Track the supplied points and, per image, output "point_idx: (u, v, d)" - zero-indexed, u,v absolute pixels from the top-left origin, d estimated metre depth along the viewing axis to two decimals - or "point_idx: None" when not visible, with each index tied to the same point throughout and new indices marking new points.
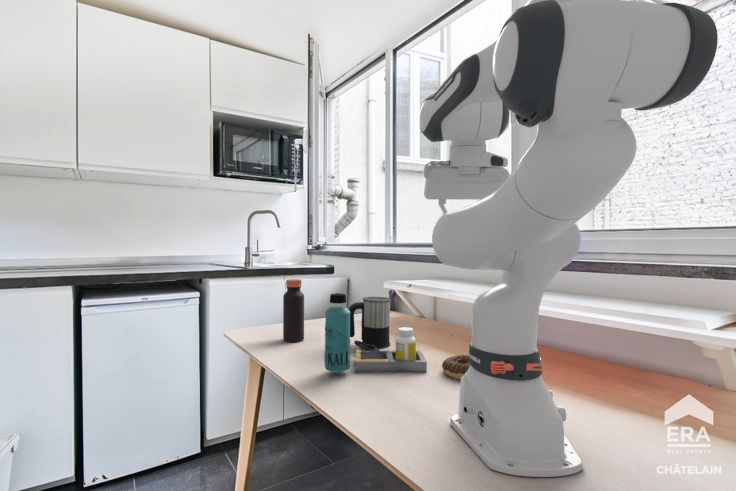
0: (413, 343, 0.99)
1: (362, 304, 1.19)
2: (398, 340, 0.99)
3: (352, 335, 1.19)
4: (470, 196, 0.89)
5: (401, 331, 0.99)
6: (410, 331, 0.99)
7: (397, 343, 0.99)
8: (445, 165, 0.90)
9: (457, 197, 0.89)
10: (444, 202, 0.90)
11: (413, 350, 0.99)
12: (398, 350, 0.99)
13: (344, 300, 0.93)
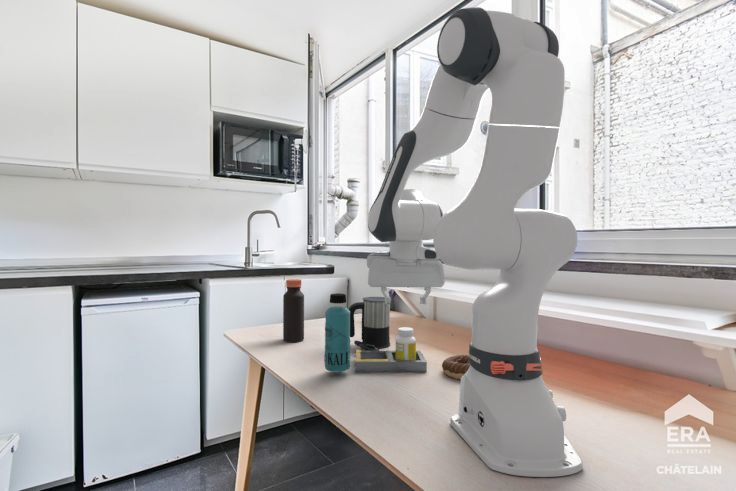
0: (413, 343, 0.99)
1: (362, 304, 1.19)
2: (398, 340, 0.99)
3: (352, 335, 1.19)
4: (408, 284, 0.99)
5: (401, 331, 0.99)
6: (410, 331, 0.99)
7: (397, 343, 0.99)
8: (385, 256, 1.00)
9: (396, 285, 0.99)
10: (385, 289, 1.00)
11: (413, 350, 0.99)
12: (398, 350, 0.99)
13: (344, 300, 0.93)
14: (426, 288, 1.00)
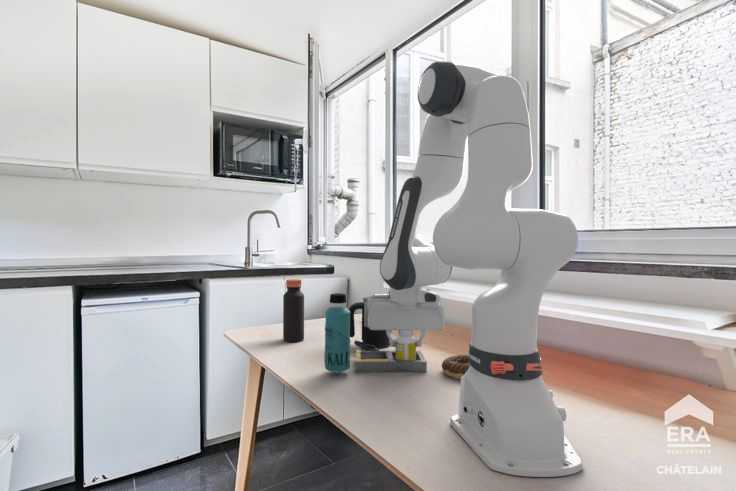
0: (413, 343, 0.99)
1: (362, 304, 1.19)
2: (398, 340, 0.99)
3: (352, 335, 1.19)
4: (408, 327, 0.99)
5: (401, 331, 0.99)
6: (410, 331, 0.99)
7: (397, 343, 0.99)
8: (385, 299, 1.00)
9: (396, 328, 0.99)
10: (390, 332, 0.99)
11: (413, 350, 0.99)
12: (398, 350, 0.99)
13: (344, 300, 0.93)
14: (421, 331, 1.00)
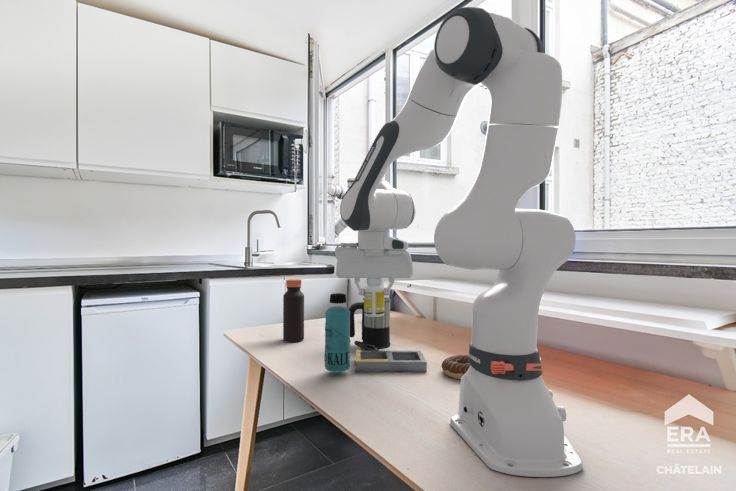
0: (381, 292, 0.98)
1: (362, 304, 1.19)
2: (366, 289, 0.99)
3: (352, 335, 1.19)
4: (376, 275, 0.98)
5: (369, 280, 0.99)
6: (378, 280, 0.99)
7: (365, 292, 0.99)
8: (354, 247, 1.00)
9: (364, 276, 0.98)
10: (358, 280, 0.99)
11: (381, 299, 0.98)
12: (366, 299, 0.99)
13: (344, 300, 0.93)
14: (389, 279, 0.99)
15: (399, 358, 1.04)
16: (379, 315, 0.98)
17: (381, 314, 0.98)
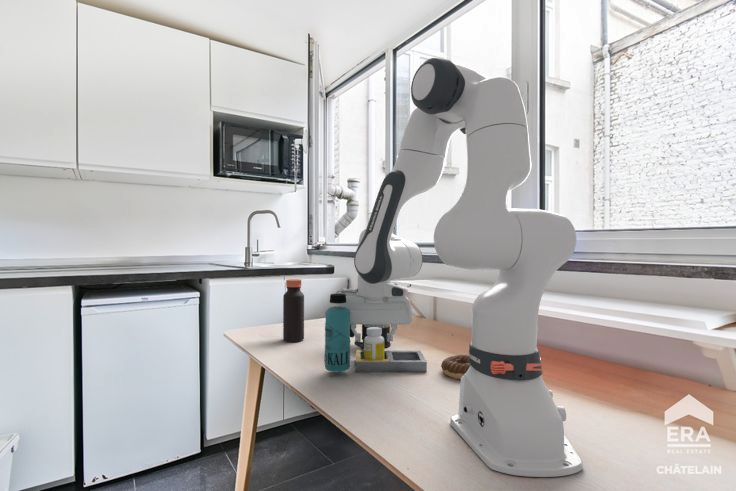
0: (381, 343, 0.99)
1: None
2: (366, 340, 0.99)
3: (352, 335, 1.19)
4: (375, 322, 0.99)
5: (369, 331, 0.99)
6: (378, 331, 0.99)
7: (365, 343, 0.99)
8: (353, 293, 1.00)
9: (364, 323, 0.99)
10: (354, 326, 0.99)
11: (381, 350, 0.99)
12: (366, 350, 0.99)
13: (344, 300, 0.93)
14: (392, 325, 0.99)
15: (399, 358, 1.04)
16: None
17: None
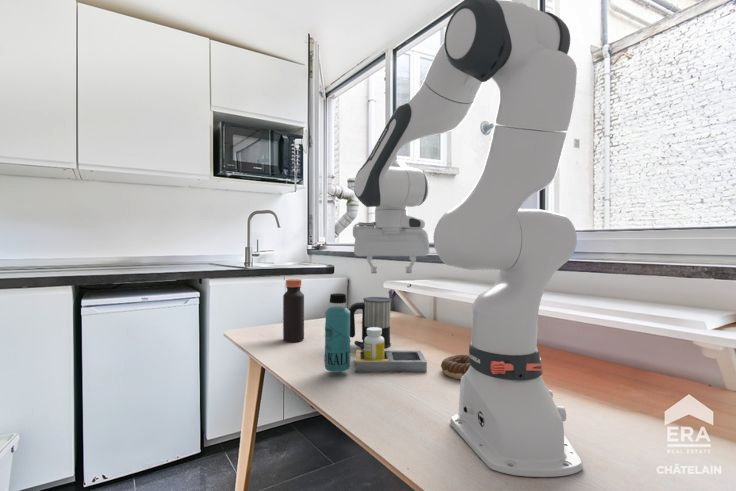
0: (381, 343, 0.99)
1: (362, 304, 1.19)
2: (366, 340, 0.99)
3: (352, 335, 1.19)
4: (393, 253, 1.00)
5: (369, 331, 0.99)
6: (378, 331, 0.99)
7: (365, 343, 0.99)
8: (371, 226, 1.02)
9: (382, 254, 1.00)
10: (371, 258, 1.01)
11: (381, 350, 0.99)
12: (366, 350, 0.99)
13: (344, 300, 0.93)
14: (411, 257, 1.01)
15: (399, 358, 1.04)
16: None
17: None
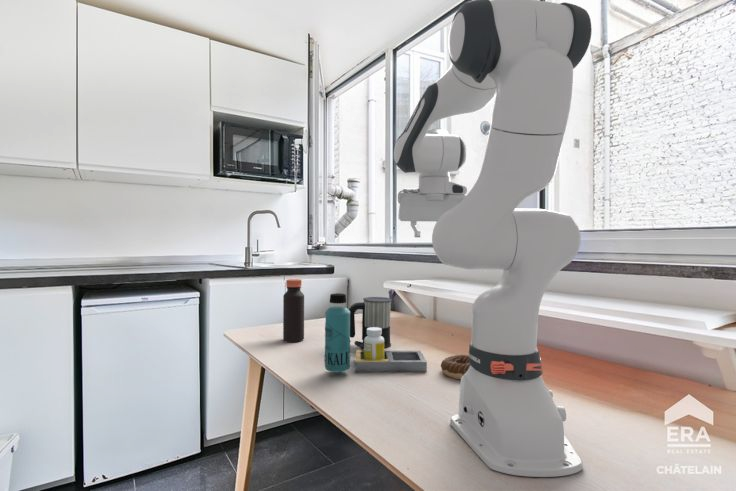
0: (381, 343, 0.99)
1: (363, 304, 1.19)
2: (366, 340, 0.99)
3: (352, 335, 1.19)
4: (436, 218, 1.06)
5: (369, 331, 0.99)
6: (378, 331, 0.99)
7: (365, 343, 0.99)
8: (415, 192, 1.07)
9: (425, 219, 1.06)
10: (415, 223, 1.07)
11: (381, 350, 0.99)
12: (366, 350, 0.99)
13: (344, 300, 0.93)
14: None
15: (399, 358, 1.04)
16: None
17: None
